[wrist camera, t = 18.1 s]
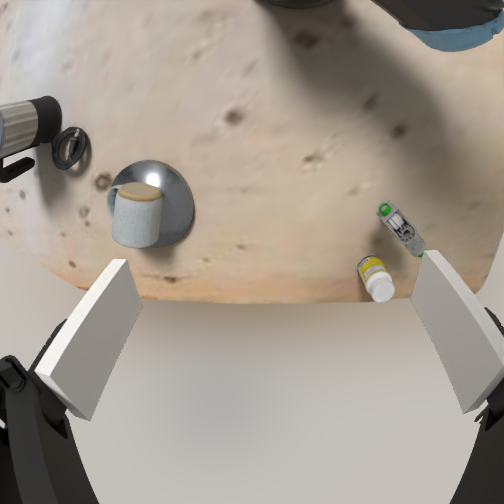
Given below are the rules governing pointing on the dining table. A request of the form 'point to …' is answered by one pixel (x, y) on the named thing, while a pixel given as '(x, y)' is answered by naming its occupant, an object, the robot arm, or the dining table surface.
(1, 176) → the milk frother
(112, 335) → the robot arm
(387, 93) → the dining table surface
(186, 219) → the plate
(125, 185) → the ceramic mug
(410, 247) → the mechanical component
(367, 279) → the supplement bottle
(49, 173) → the dining table surface
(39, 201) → the dining table surface
